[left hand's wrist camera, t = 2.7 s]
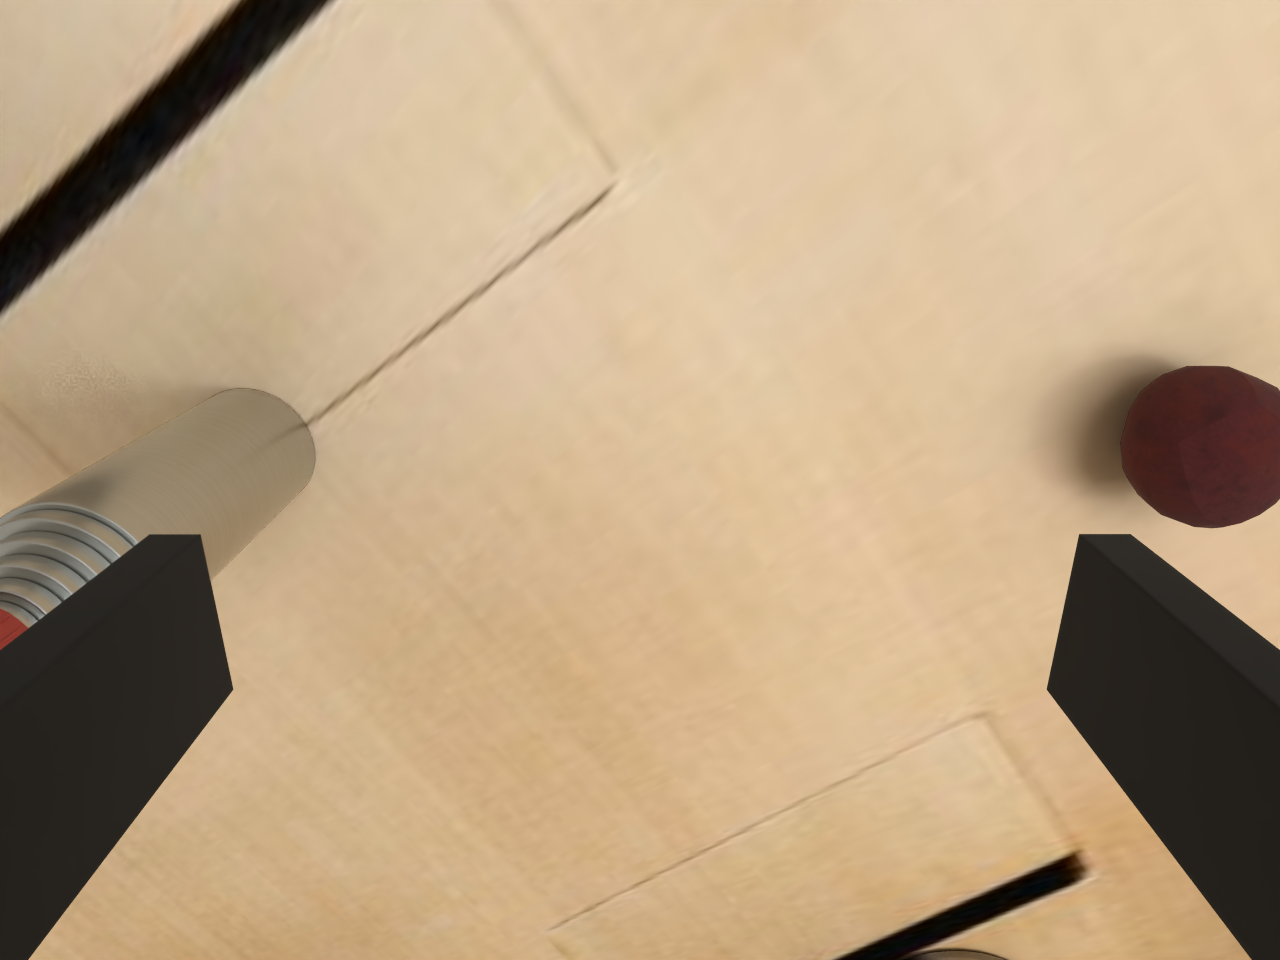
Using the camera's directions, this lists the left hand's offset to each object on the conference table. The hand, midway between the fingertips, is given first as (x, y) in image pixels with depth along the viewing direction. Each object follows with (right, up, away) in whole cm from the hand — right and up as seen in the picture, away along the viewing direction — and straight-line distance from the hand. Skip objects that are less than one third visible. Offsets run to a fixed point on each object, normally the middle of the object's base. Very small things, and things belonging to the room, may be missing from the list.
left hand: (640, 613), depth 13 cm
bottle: (-20, +4, +31) cm, 37 cm away
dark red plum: (+27, +5, +30) cm, 41 cm away
